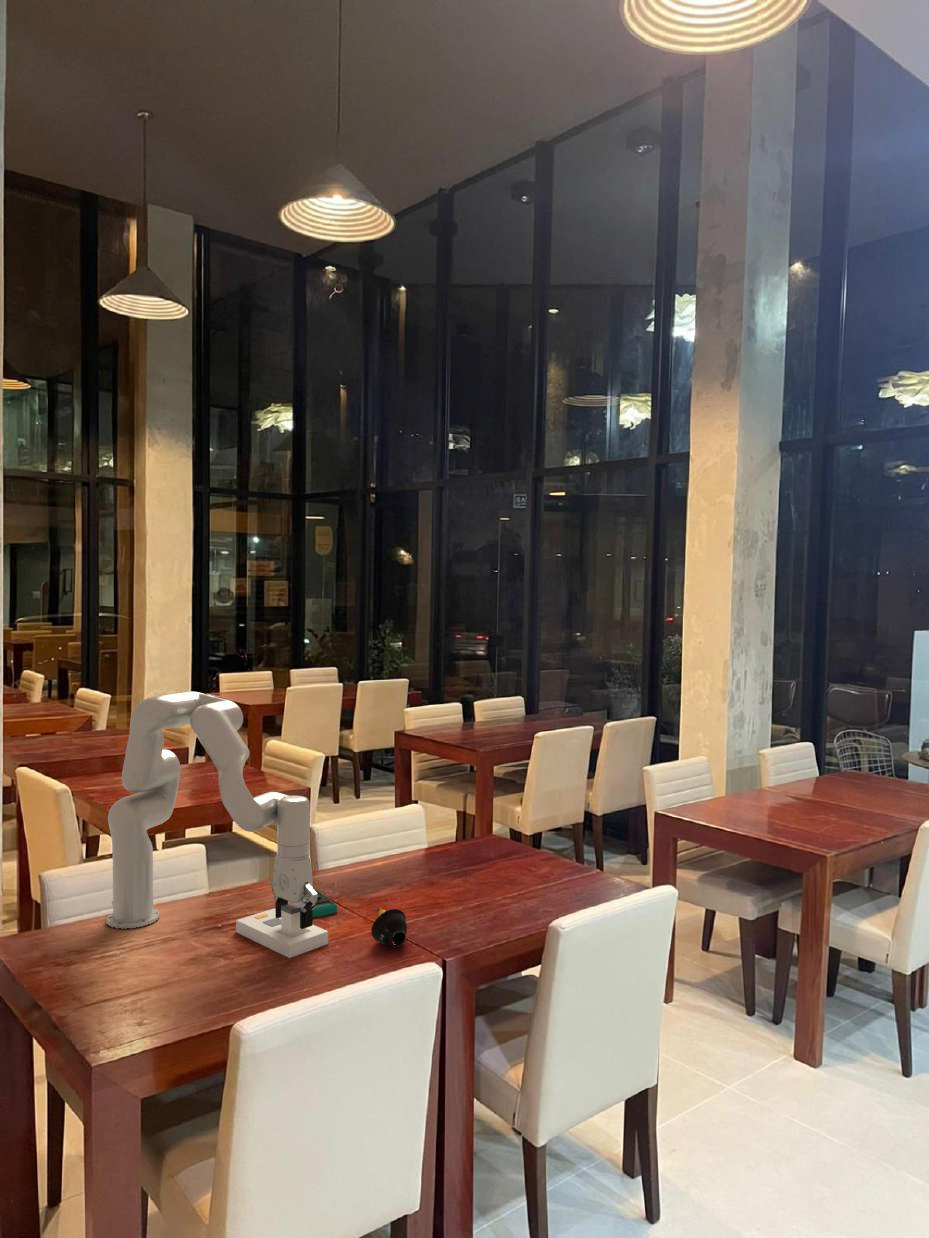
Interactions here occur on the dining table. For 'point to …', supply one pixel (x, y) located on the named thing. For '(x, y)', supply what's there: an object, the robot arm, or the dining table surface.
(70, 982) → the dining table surface
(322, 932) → the power strip
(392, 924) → the fried shrimp in bowl
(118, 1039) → the dining table surface
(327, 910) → the digital multimeter
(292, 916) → the plug
